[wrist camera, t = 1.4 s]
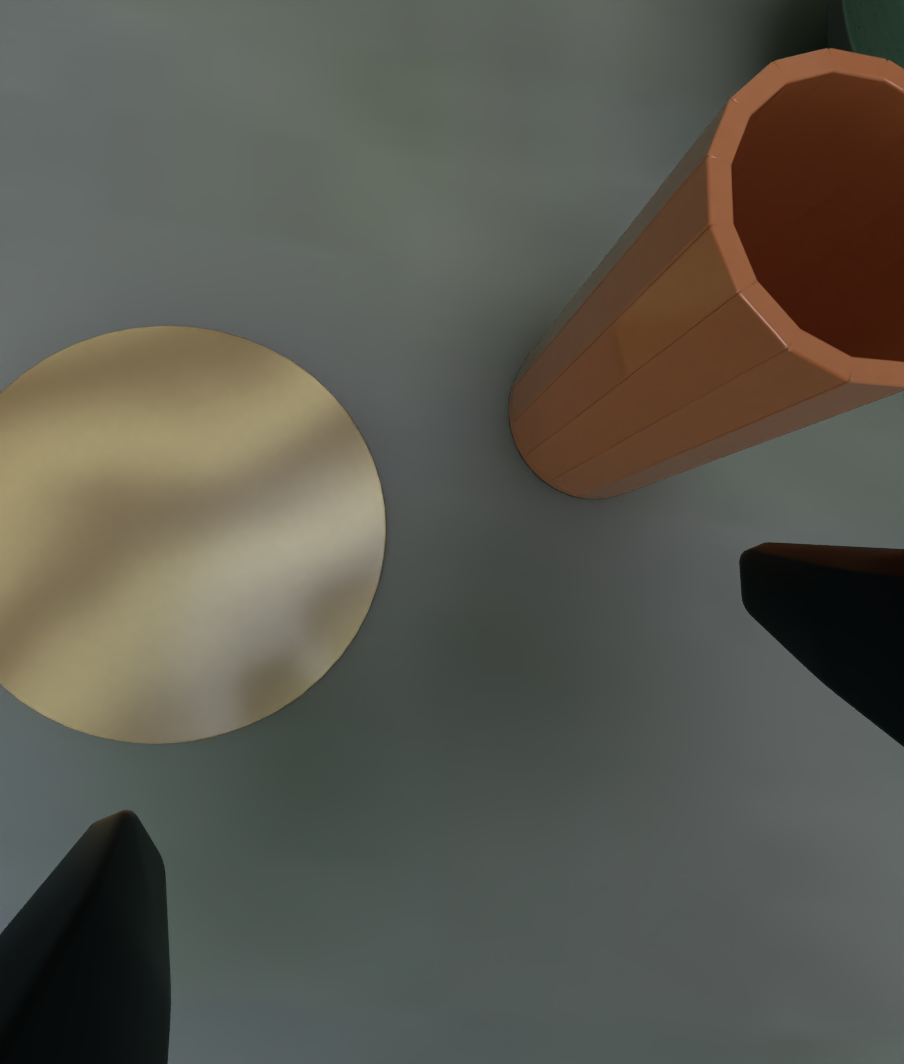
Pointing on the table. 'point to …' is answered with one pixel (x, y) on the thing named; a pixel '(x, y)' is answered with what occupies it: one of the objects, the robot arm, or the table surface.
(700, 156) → the terracotta pot
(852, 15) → the planter
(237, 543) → the beige flat disc
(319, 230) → the table surface
